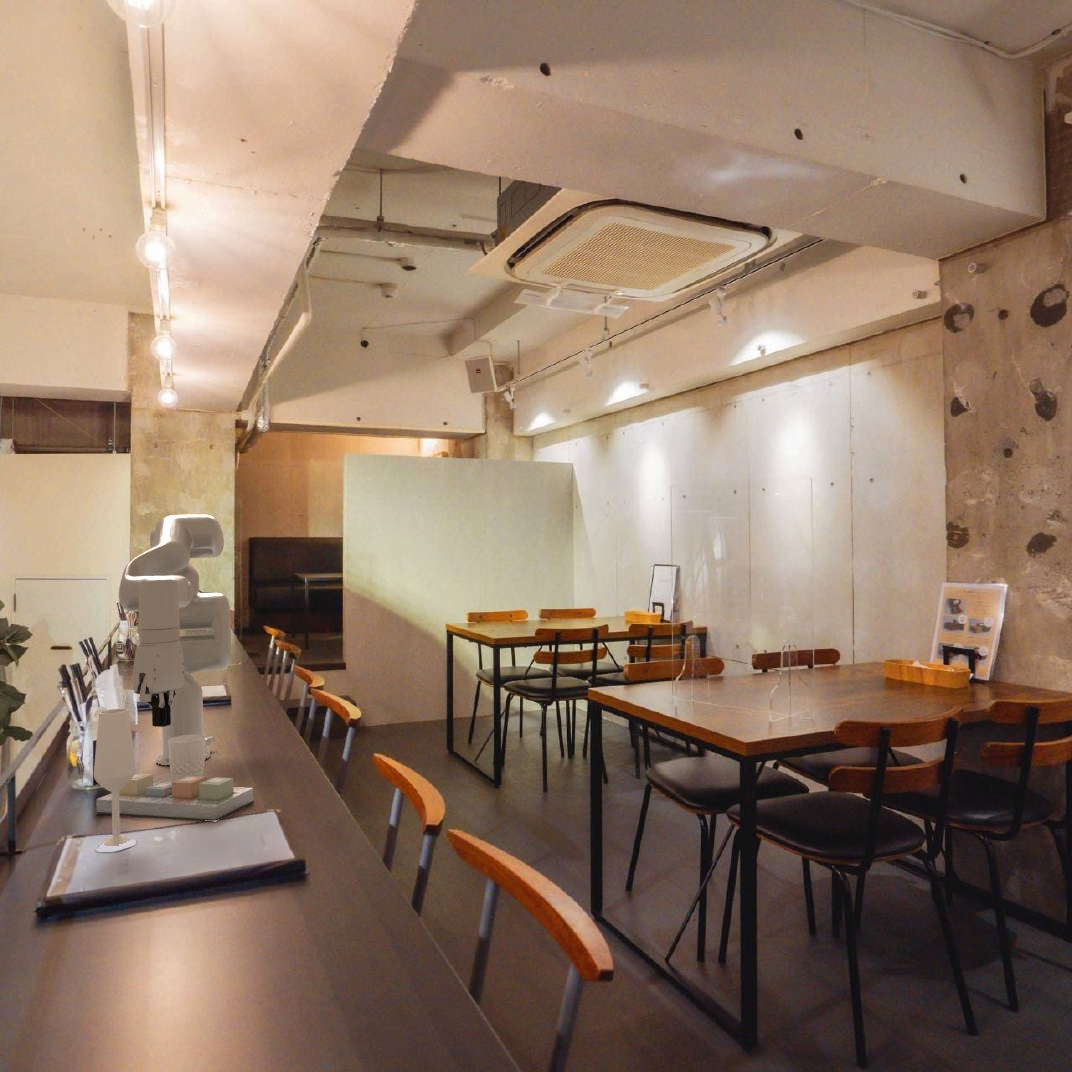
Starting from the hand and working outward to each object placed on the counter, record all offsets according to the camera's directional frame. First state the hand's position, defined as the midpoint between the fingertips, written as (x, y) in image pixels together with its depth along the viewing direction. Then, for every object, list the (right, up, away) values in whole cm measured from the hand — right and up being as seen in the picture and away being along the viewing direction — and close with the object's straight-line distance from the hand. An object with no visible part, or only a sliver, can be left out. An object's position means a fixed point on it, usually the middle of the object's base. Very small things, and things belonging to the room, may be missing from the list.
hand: (161, 725), depth 160 cm
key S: (-6, -15, +1) cm, 16 cm away
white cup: (-3, -18, +18) cm, 25 cm away
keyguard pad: (+4, -17, -1) cm, 17 cm away
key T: (0, -16, 0) cm, 16 cm away
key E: (+13, -14, -4) cm, 19 cm away
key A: (+7, -14, -2) cm, 16 cm away
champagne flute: (+2, -16, -22) cm, 27 cm away
